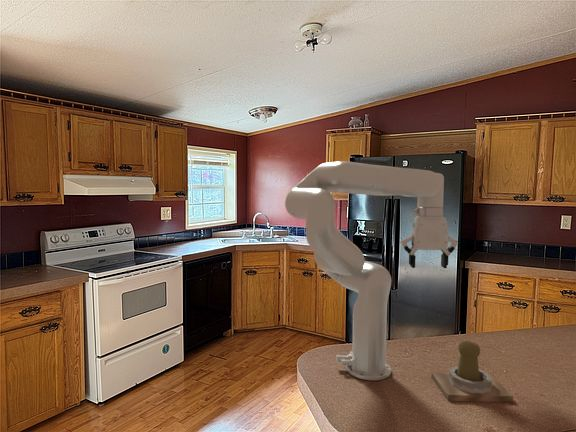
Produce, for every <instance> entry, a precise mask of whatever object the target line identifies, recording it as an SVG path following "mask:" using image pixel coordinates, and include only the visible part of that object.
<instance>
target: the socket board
mask: <svg viewBox="0 0 576 432" xmlns="http://www.w3.org/2000/svg"><path fill="white" fill-rule="evenodd" d="M457 370H458V365H456V366H452V367H450V369H449V371H448V372H437V371H436V372H431V379H432V380H433V382H434V383H435V385H436V386H437V387H438V389H439V390H440V392H441V393H442V395H443V396H444V397H445V398H446V400H447V401H448V402H450V401H451V402H492V403H493V402H495V403H496V402H497V403H500V402H501V403H513V401H514V396H513V395H512V393H511V392H509V390H507V388H505V387H504V386H503V385H502V384H501V383H500V382H499V381H498V380H497V379H496V378H495V377H494V376H492V374H491V373H489V372H487V371H485V370H483V369H481V368H479V376H480V382H474V381H469V380H465V379H462V378H460V377H458V376H457Z"/></svg>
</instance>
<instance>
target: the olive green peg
mask: <svg viewBox="0 0 576 432" xmlns="http://www.w3.org/2000/svg"><path fill="white" fill-rule="evenodd" d="M458 352H459V354H460V355H459V361H458V365H457V366H458V370H457V376H458V377H460V378H462V379H465V380H469V381H474V382H480V376H479V369H480V368H479V358H478V357H479V356H480V354H481V348H480V346H479V344H478V343H476V342H475V341H469V340H464V341H460V343H459V344H458Z"/></svg>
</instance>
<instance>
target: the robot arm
mask: <svg viewBox="0 0 576 432" xmlns="http://www.w3.org/2000/svg"><path fill="white" fill-rule="evenodd" d="M444 183H445V176H444V175H443V174H442V173H440V172H434V171H432V170H428V169H427V170H425V169H420V168H408V167H397V166H396V167H395V166H391V165H390V166H389V165H388V166H387V165H378V164H371V163H370V164H369V163H362V162H356V161H355V162H354V161H344V160H338V161H329V162H323V163H320V164H319V165H318V166H317V167H315V168H314V169H313V170H312V171H310V172H309V173H308V174H307V175H306V176H305V177H304V178H302V179H301V180H300V182H298V183H297V184H296V185H295V186H293V188H291V189H290V190H289V192H288V193H287V195H286V197H285V199H284V200H285V203H284V204H285V205H284V206H285V210H286V211H287V213H288V214H289V215H290V217H291V216H292V217H293V218H295V219H299V220H305V238H306V241H307V244H308V245H309V247H310V248H311V249H312V250H313V257H314V262H315V263H316V265H317V266H318V268H319V269H320V270H322V272H324V273H325V274H326V275H327V276H328V277H330V278H331V279H332V280H334V281H335V282H336V283H338V284H339V285H340V286H341V287H343V288H345V289H348V290H350V291H353V292H356V293H357V294H358V296H357V298H356V300H355V302H354V305H353V309H352V342H351V343H352V347H351V348H352V350H350V351H349V354H348V353H347V354H346V355H342V354H337V355H336V356H335V359H336V363H340V365H341V366H346V370H347V372H348V373H349V374H350V375H351V376H353V377H355V378H356V379H361V380H365V381H381V380H386V379H387V378H389V377H390V376H391V374H392V368H391V366H390V365H389V364H388V363H386V361H387V359H386V358H387V325H388V323H387V322H388V321H387V319H388V318H387V317H388V316H387V315H388V301H389V295H390V291H391V287H392V276H391V274H390V272H389V270H388V269H387V268H386V267H385V266H383V265H381V264H379V263H376V262H372V261H368V260H365V257H364V253H363V252H362V250H361V249H360V248H359V247H358V246H357V245H356V244H354V242H352V241H351V240H350V239H349V238H348V237H347V236H345V235H344V234H343V232H341V231H340V230H339V228H337V226H336V220H335V217H336V216H335V215H336V202H335V199H334V196H333V195H332V193H340V194H341V193H342V194H350V195H351V194H352V195H355V194H356V195H367V196H381V197H384V196H385V197H389V196H401V197H404V198H405V197H407V198H408V197H409V198H417V204H416V205H417V206H416V208H415V209H414V208H413V209H412V214H416V216H415V217H414V219H413V224H412V230H411V235H409V236H407V237H405V238H403V239H401V240H400V244H401V246H402V248H403V249H404V251H405V252H407V254H408V264H409V266H410V268H412V269H415V268H416V255H415V254H416V252H418V250H421V251H441V252H442V254H441V257H440V267H442V268H443V269H447V268H448V267H447V266H448V265H449V256H450V255H451V254H452V253H453V252H454V251H455V248H456V247H457V245H458V244H459V241H458V240H456V239H454V238H452V237H450V236H449V235H448V234H449V233H448V232H449V231H448V224H447V218H446V217H443V214H444V192H445V191H444V187H445V186H444V185H445V184H444ZM409 242H410V243H411V247H409V246H408V243H409ZM449 243H450V246H449Z"/></svg>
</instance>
